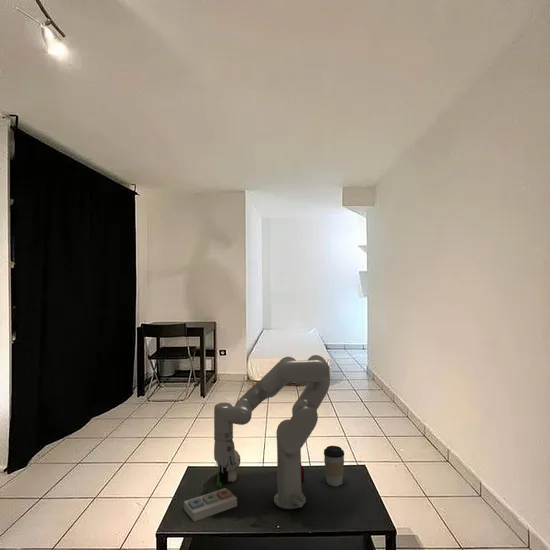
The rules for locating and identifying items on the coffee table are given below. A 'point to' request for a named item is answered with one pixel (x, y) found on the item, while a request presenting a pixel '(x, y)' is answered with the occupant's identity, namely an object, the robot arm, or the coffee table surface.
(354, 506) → the coffee table surface
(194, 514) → the keypad
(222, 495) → the terracotta key
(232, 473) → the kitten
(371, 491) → the coffee table surface
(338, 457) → the coffee cup
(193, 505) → the slate blue key
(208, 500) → the sage key
